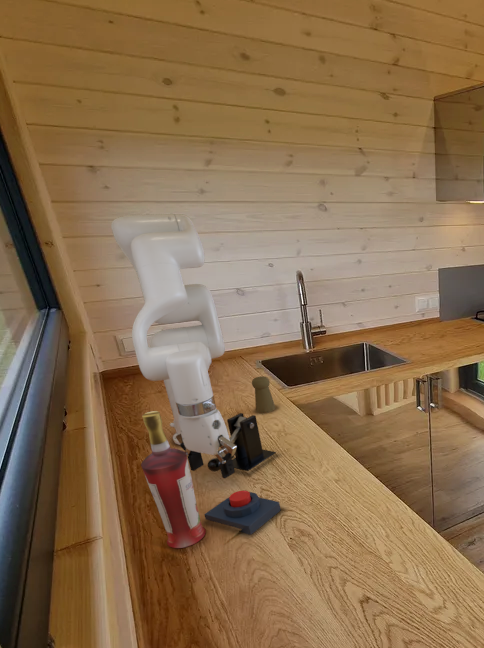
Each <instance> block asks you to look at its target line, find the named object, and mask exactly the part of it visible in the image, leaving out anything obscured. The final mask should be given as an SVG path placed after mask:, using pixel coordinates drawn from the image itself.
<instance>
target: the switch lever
mask: <svg viewBox="0 0 484 648" xmlns="http://www.w3.org/2000/svg"><path fill="white" fill-rule="evenodd" d="M246 418H247V416H244V417H239V418H238V420H237V421H236V423H235V424H234V426H235V427H236V430H235V431H234V432H233V434H232V435H230V436H229V439H230V442H232V443H234V442H235V440H236V439H237V437H238V436H239V434H240V433H241V427H240V422H241V421H243V420H244V419H246ZM220 454H221V455H222V456H223V457H224V456H225V455H226V454H225V453H224V452H221V453H220ZM220 463H221V462H220V461H219V459H218V458H217V457H216V456H215V457H214V458H211V459H210V460H208V461H207V468H208V470H209V471H210V472H213V473H217V472H219V471H221V470H220V466H219V464H220Z"/></svg>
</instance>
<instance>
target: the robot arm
mask: <svg viewBox="0 0 484 648" xmlns="http://www.w3.org/2000/svg"><path fill="white" fill-rule="evenodd" d="M110 229H111V232H112V235H113V238H114V240H115V242H116V244H117V246H118V247H119V249H120V251H121V252H122V253H123V255H124V256H125V257H126V258H127V260H128V261H129V263H130V264H131V265H132V267H133V269H134V271H135V273H136V275H137V278H138V282H139V287H140V289H141V290H140V291H141V294H142V297H143V301H144V304H143V306H142V307H141V309H140V310H139V312H138V313H137V315H136V317H135V319H134V320H133V321H134V322H133V325H132V328H131V329H132V330H131V339H132V345H133V348H134V353H135V356H136V361H137V364H138V367H139V370H140V372H141V374H142V376H143V377H144V378H145V379H147V380H148V381H151V382H161V381H163V384H164V387H165V390H166V394H167V398H168V402H169V406H170V410H171V413H172V416H173V422H170V423H169V427H170V428H173V429H174V430H175V432H174V434H173V435H172V440H173V443H174V444H176V445H179V447H180V448H181V449H182V451H184V452H186V455H187V459H188V464H189V469H190V471H192V472H195V471H196V470H198V469H200V468H201V467H204V465H205V463H204V460H203V455H209V456H215V458H216V457H217V458H218V459H219V461H220V462H221V463H220V464H219V466H220V470H219V471H220V474H221V478H222V479H227V478H229V477H230V476H232V475H233V474H234V473H235V468H234V466H233V461H232V459H234V458H235V454H236V453H235V452H236V448H237V447H236V445H235V444H233V443H232V442H230V439H229V438H230V435H229V431H228V429H227V425H226V422H225V420H224V418H223V415H222V413H221V412H220V410H219V409H217V405H216V400H215V396H214V391H213V387H212V384H211V383H212V382H211V379H210V375H209V372H208V371H209V369H210V366H211V365H212V359H218V358H220V357H222V356H223V355H224V354H225V352H226V344H225V340H224V339H225V338H224V335H223V331H222V327H221V322H220V318H219V314H218V310H217V307H216V303H215V300H214V296H213V294H212V291H211V290H210V288H208V286H206V285H204V284H199V283H192V284H185V283H184V280H183V276H182V273H181V270H186V269H198V268H201V267H203V266H204V265H205V262H206V254H205V249H204V245H203V242H202V239H201V237H200V234H199V233H198V230H197V228H196V226H195V224H194V222H193V220H192V219H191V218H190V217H189V216H187V215H186V214H181V213H165V214H164V213H163V214H162V213H161V214H160V213H159V214H130V215H124V216H123V215H122V216H120V217H117V218H115V219H113V220H112V221H111V225H110ZM194 321H195V322H196V321H197V322H199V323H201V324H197V325H191V326H190V325H189V326H182V327H181V326H180V327H174V328H168V329H162V330H159V331H156V332H155V333H153V334H152V336H151V337H150V339H149V343H148V332H149V329H150V328H151V326H152V325H154V324H158V325H170V324H180V323H187V322H194ZM221 452H224V453H225V454H226V455H225V456H224V457H223V456H222V455H221V454H220V453H221ZM202 454H203V455H202Z"/></svg>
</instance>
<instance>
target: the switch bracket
mask: <svg viewBox="0 0 484 648" xmlns="http://www.w3.org/2000/svg"><path fill="white" fill-rule="evenodd" d="M239 417H245V416H244V413H242V412H239V413H238V414H235V415H234V416H233V415H232V416H231V417H230V418H228V419H227V420H226V421H227V422H226V423H227V427H228V430H229V431H228V432H229V434H230V435H229V436H231V435H232V434H233V432H234V431H235V430H236V427H235V426H234V424H235V423H236V421H237V420H238V418H239ZM240 427H241V433H240V434H239V436H238V437H237V439H236V440H235V442H234V443H233V444H235V445H236V447H237V448H236V452H235V453H236V454H235V456H234V458H233V459H232V461H233V466H234V469H237V470H241V471H245V472H249V471H251V470H252V469H254V468H255V467H256V466H258V465H260V464H261V463H264V461H266V460H268V459H269V458H270V457H272V456H273V455H275V454H276V453H277V452H276V451H273V450H268V449H263V445H262V441H261V435H260V431H259V426H258V421H257V416H256V414H255V415H254V414H252V415H250V416H248V417H246V419H244V420H243V421H241V422H240Z"/></svg>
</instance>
